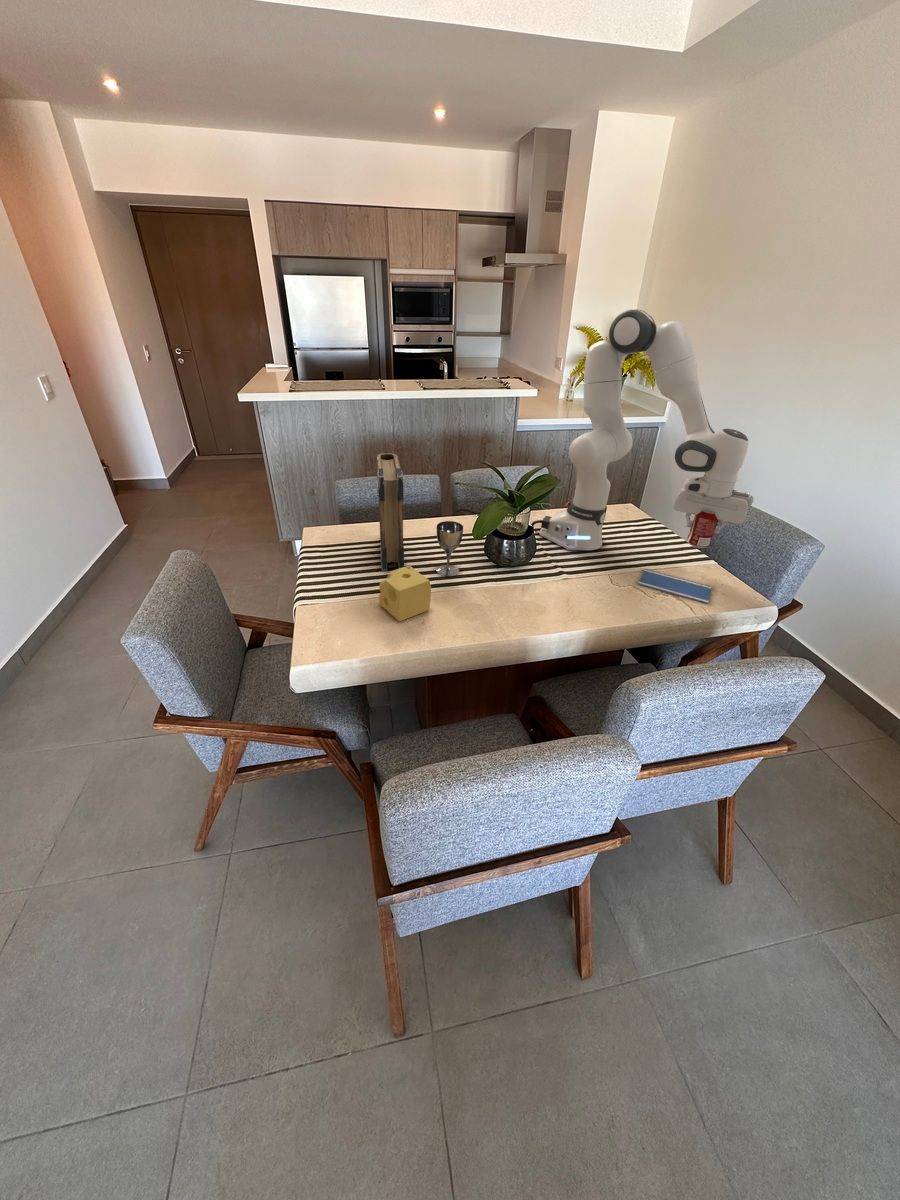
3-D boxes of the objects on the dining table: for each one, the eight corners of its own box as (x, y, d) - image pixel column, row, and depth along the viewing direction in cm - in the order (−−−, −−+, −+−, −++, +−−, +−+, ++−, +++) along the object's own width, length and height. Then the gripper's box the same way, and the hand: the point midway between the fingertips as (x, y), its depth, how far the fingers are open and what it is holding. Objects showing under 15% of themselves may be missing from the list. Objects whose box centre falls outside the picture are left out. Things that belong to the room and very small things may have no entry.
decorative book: (404, 569, 155) (403, 476, 138) (381, 570, 154) (377, 476, 137) (399, 536, 174) (398, 451, 158) (378, 537, 173) (375, 451, 157)
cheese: (378, 605, 138) (377, 574, 132) (411, 593, 143) (411, 563, 138) (398, 623, 131) (398, 591, 125) (432, 610, 136) (432, 579, 131)
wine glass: (455, 562, 160) (457, 519, 152) (464, 574, 154) (467, 530, 145) (431, 566, 157) (433, 522, 149) (439, 578, 151) (441, 533, 143)
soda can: (711, 550, 155) (724, 514, 148) (688, 547, 155) (700, 512, 149) (706, 541, 160) (718, 506, 154) (684, 538, 161) (695, 503, 155)
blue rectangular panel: (638, 584, 153) (638, 583, 153) (645, 569, 161) (645, 568, 161) (707, 604, 145) (707, 603, 145) (711, 587, 154) (711, 586, 153)
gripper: (756, 491, 146) (739, 533, 153) (682, 477, 154) (670, 518, 161) (755, 497, 141) (738, 541, 149) (679, 483, 149) (667, 525, 157)
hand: (702, 529), depth 155 cm, fingers closed on soda can, 7 cm apart
